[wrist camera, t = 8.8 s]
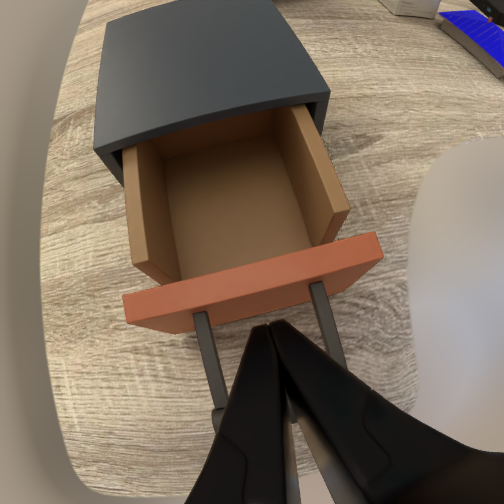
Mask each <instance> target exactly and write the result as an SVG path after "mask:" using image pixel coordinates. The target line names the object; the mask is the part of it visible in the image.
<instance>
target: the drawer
mask: <svg viewBox="0 0 504 504" xmlns="http://www.w3.org/2000/svg"><path fill="white" fill-rule="evenodd" d="M122 154H123V174H124V190H125V203H126V214H127V224H128V234H129V243H130V251H131V259H132V265H134V266H135V267H136V268H138V269H139V270H141V271H142V272H144V273H145V274H146V275H148V276H149V277H151V278H152V279H154V280H155V281H157V282H158V283H160V284H161V285H162V286H159V287H155V288H151V289H146V290H142V291H138V292H134V293H130V294H126V295H123V304H124V310H125V316H126V322H127V323H128V324H132V325H136V326H140V327H144V328H148V329H153V330H157V331H161V332H166V333H171V334H180V333H185V332H189V331H193V330H196V334H197V338H198V343H199V347H200V351H201V355H202V359H203V363H204V367H205V372H206V375H207V379H208V383H209V387H210V391H211V395H212V399H213V402H214V406H215V409H213V410H212V423H213V427H214V431H215V433H217V432H218V427H219V424H220V421H221V418H222V415H223V412H224V409H225V407H226V404H227V401H228V398H229V395H228V391H227V388H226V384H225V380H224V376H223V372H222V368H221V364H220V360H219V356H218V352H217V348H216V344H215V340H214V336H213V332H212V327H211V326H215V325H219V324H223V323H228V322H232V321H236V320H240V319H244V318H248V317H252V316H256V315H260V314H263V313H267V312H271V311H275V310H279V309H282V308H286V307H290V306H293V305H297V304H301V303H304V302H308V301H311V300H312V303H313V306H314V310H315V313H316V317H317V320H318V324H319V327H320V331H321V334H322V338H323V342H324V345H325V349H326V353H327V354H328V355H330V356H331V357H332V358H333V359H335V360H336V361H337V362H338V363H340V364H341V365H342V366H343V367H345V368H346V369H347V370H348V368H347V364H346V360H345V357H344V353H343V349H342V346H341V342H340V338H339V335H338V331H337V328H336V324H335V321H334V317H333V314H332V310H331V307H330V304H329V300H328V297H327V296H329V295H332V294H336V293H339V292H342V291H345V290H346V289H347V288H348V287H350V286H351V285H352V284H353V283H354V282H356V281H357V280H358V279H359V278H360V277H362V276H363V275H364V274H365V273H366V272H367V271H369V270H370V269H371V268H372V267H373V266H374V265H376V264H377V263H378V262H379V261H380V260H381V259H382V258H384V255H383V253H382V250H381V247H380V244H379V242H378V239H377V236H376V233H375V232H374V231H373V232H369V233H365V234H361V235H358V236H354V237H350V238H346V239H342V240H339V241H335V242H333V240H334V239H335V237H336V235H337V233H338V232H339V230H340V228H341V226H342V224H343V223H344V221H345V219H346V217H347V215H348V214H349V212H350V210H351V208H350V205H349V203H348V200H347V198H346V195H345V193H344V190H343V188H342V185H341V183H340V181H339V178H338V176H337V173H336V171H335V169H334V166H333V164H332V162H331V159H330V157H329V155H328V153H327V150H326V148H325V146H324V144H323V142H322V139H321V137H320V135H319V133H318V131H317V129H316V126H315V124H314V122H313V120H312V118H311V116H310V114H309V112H308V110H307V108H306V106H305V104H304V103H303V104H297V105H291V106H285V107H279V108H274V109H269V110H263V111H258V112H253V113H249V114H244V115H239V116H235V117H230V118H226V119H222V120H218V121H214V122H210V123H206V124H202V125H198V126H194V127H190V128H187V129H183V130H179V131H176V132H172V133H169V134H166V135H162V136H159V137H156V138H152V139H149V140H146V141H143V142H140V143H137V144H134V145H131V146H128V147H125V148H122ZM352 374H353V373H352ZM287 399H288V397H287ZM288 404H289V410H290V417H291V424H294V423H298V421H297V419H296V417H295V415H294V412H293V410H292V408H291V405H290V403H289V400H288Z"/></svg>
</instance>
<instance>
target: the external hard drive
mask: <svg viewBox="0 0 504 504" xmlns="http://www.w3.org/2000/svg"><path fill="white" fill-rule="evenodd" d="M470 1H471V2H472V3H473V4H474V5H476V6H477V7H478V8H479V9H480V10H481V11H482V12H483V13H484V14H485V15H486V16H487V17H488V18H489V17H490V16H491V17H492V18H493V19H492V22H493V23H495V24H499V25H502V26H504V0H470Z"/></svg>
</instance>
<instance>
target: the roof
mask: <svg viewBox="0 0 504 504" xmlns="http://www.w3.org/2000/svg"><path fill="white" fill-rule="evenodd" d="M437 14H439V15H440V16H442V17H443V18H444V20H443V23H442V25H441V29H442V30H444V31H445V32H446V33H447V34H449V35H450V36H451V37H453V38H454V39H455V40H456V41H457V42H459V43H460V44H461V45H462V46H463V47H465V48H466V49H467V50H468V51H469V52H470V53H472V54H473V55H474V56H475V57H476V58H477V59H478V60H479V61H480V62H482V63H483V64H484V65H485V66H486V67H487V68H488V69H489V70H490V71H491V72H492V73H493V74H494V75H495V76H496V77H497V78H499V77H501V76H503V75H504V32H503V31H502V30H501V29H500V28H499V27H498V26H497V25H496V24H494V23H493V22H491V21H492V19H493V18H492V17H491V16H490V17H489V19H487V18H486V17H484V16H483V15H481V14H480V13H478V12H477V11H475V10H466V11H451V12H440V13H437Z"/></svg>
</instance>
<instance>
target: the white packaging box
mask: <svg viewBox="0 0 504 504" xmlns="http://www.w3.org/2000/svg"><path fill="white" fill-rule="evenodd" d="M379 1H380V2H381V3H382V4H383V5H384V6H385V7H386V8H387V9H389V10H390V11H391V12H392V13H393V14H394V15H408V16H417V17H425V18H430V19H434V17H435V15H436V12H437V9H438V7H439V4H440V1H441V0H379Z"/></svg>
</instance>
